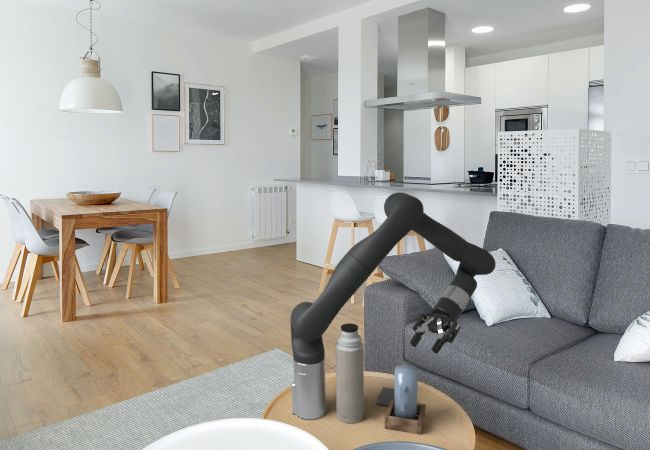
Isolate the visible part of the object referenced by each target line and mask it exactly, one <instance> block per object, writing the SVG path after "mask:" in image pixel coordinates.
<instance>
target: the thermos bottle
mask: <svg viewBox="0 0 650 450" xmlns="http://www.w3.org/2000/svg"><path fill="white" fill-rule="evenodd" d="M358 331H359V325H357V324H356V323H350V322H349V323H344V324H342V325H341V326H340V334H339V335H338V336H337V342H336V343H335V392H336V393H335V394H336V395H335V396H336V399H335V400H336V401H335V402H336V403H335V404H336V405H335V406H336V418H337V419H338V421H340V422H341V423H345V424H356V423H359V422H361V421H363V419H364V417H365V404H364V403H365V401H364V400H365V399H364V397H365V393H364V385H365V384H364V383H365V381H364V377H365V376H364V373H365V372H364V366H365V365H364V343H363V342H362V338H361V335H360V334H359V332H358Z"/></svg>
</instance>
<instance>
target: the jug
mask: <svg viewBox="0 0 650 450" xmlns="http://www.w3.org/2000/svg"><path fill="white" fill-rule="evenodd" d="M418 373H419V370H418V367H417V368H416V367H415V366H413V365H410V364H401V365H400V364H399V365H397V366H395V368H394V389H395V392H394V414H393V417H399V418H406V419H412V420H418V416H417V403H418V386H419V385H418V379H419V378H418V376H419V375H418Z"/></svg>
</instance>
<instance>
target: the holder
mask: <svg viewBox="0 0 650 450" xmlns="http://www.w3.org/2000/svg"><path fill="white" fill-rule="evenodd" d="M426 405H427V404H426V403H422V402H421V403H420V402H417V420H412V419H406V418H399V417H394V399H391V402H390V405H389V407H387V410H386V413H385V416H384V429H386V430H390V431H397V432H403V433H410V434H415V435H421V434H422V430H423V427H424V423H425V420H426V419H425V418H426V409H427V408H426Z"/></svg>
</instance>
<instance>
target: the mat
mask: <svg viewBox="0 0 650 450" xmlns="http://www.w3.org/2000/svg"><path fill="white" fill-rule="evenodd" d="M394 392H395V388H393V387H386V386H385V387H382V388H381V390H380V393H379V396H378V398H377V400H376V403H375V404H376V406H382V407H387V408H388V407H389V405H390V402H391V399H394Z"/></svg>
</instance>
